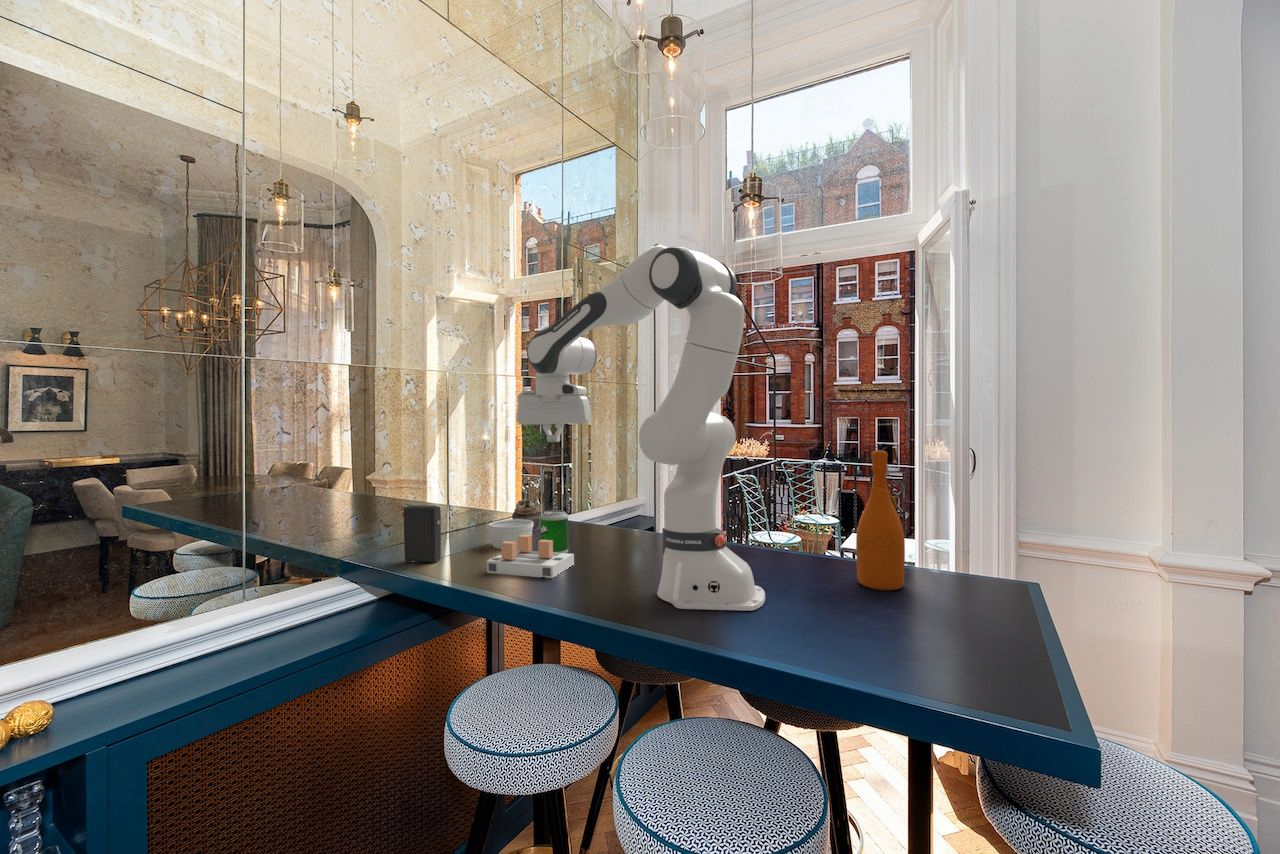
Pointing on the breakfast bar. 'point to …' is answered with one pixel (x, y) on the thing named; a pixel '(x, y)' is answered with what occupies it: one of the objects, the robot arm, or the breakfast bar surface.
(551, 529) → the soda can
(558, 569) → the white base
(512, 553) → the slider near
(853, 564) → the breakfast bar surface
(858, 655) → the breakfast bar surface
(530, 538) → the slider far
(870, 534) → the wine bottle
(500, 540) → the ramekin
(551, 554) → the slider middle
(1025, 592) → the breakfast bar surface
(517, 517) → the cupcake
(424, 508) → the card reader
